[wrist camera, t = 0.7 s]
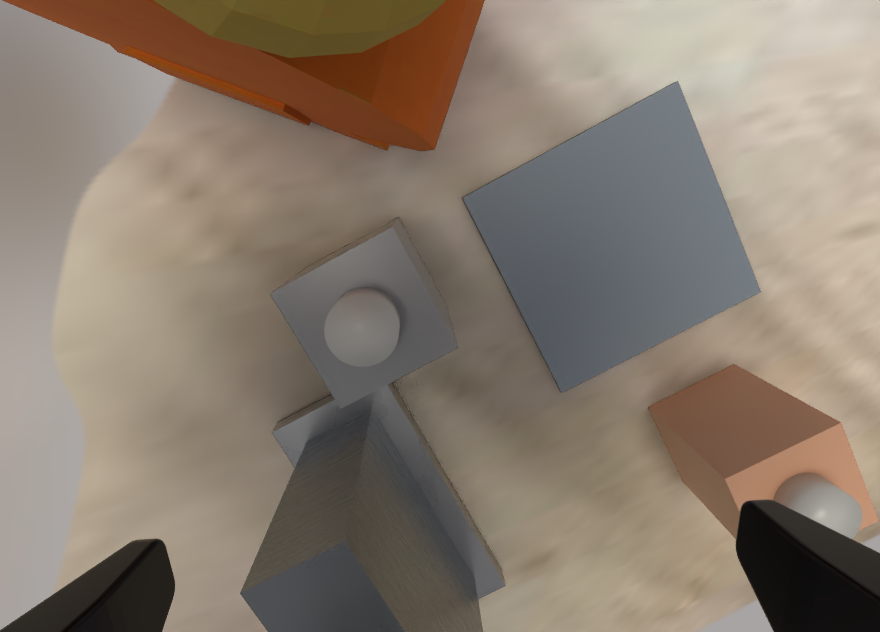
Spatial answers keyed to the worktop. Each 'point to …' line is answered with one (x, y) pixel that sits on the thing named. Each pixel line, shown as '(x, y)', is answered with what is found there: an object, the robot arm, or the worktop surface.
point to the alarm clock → (299, 55)
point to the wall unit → (368, 529)
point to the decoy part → (367, 313)
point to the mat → (615, 239)
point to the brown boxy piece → (762, 452)
